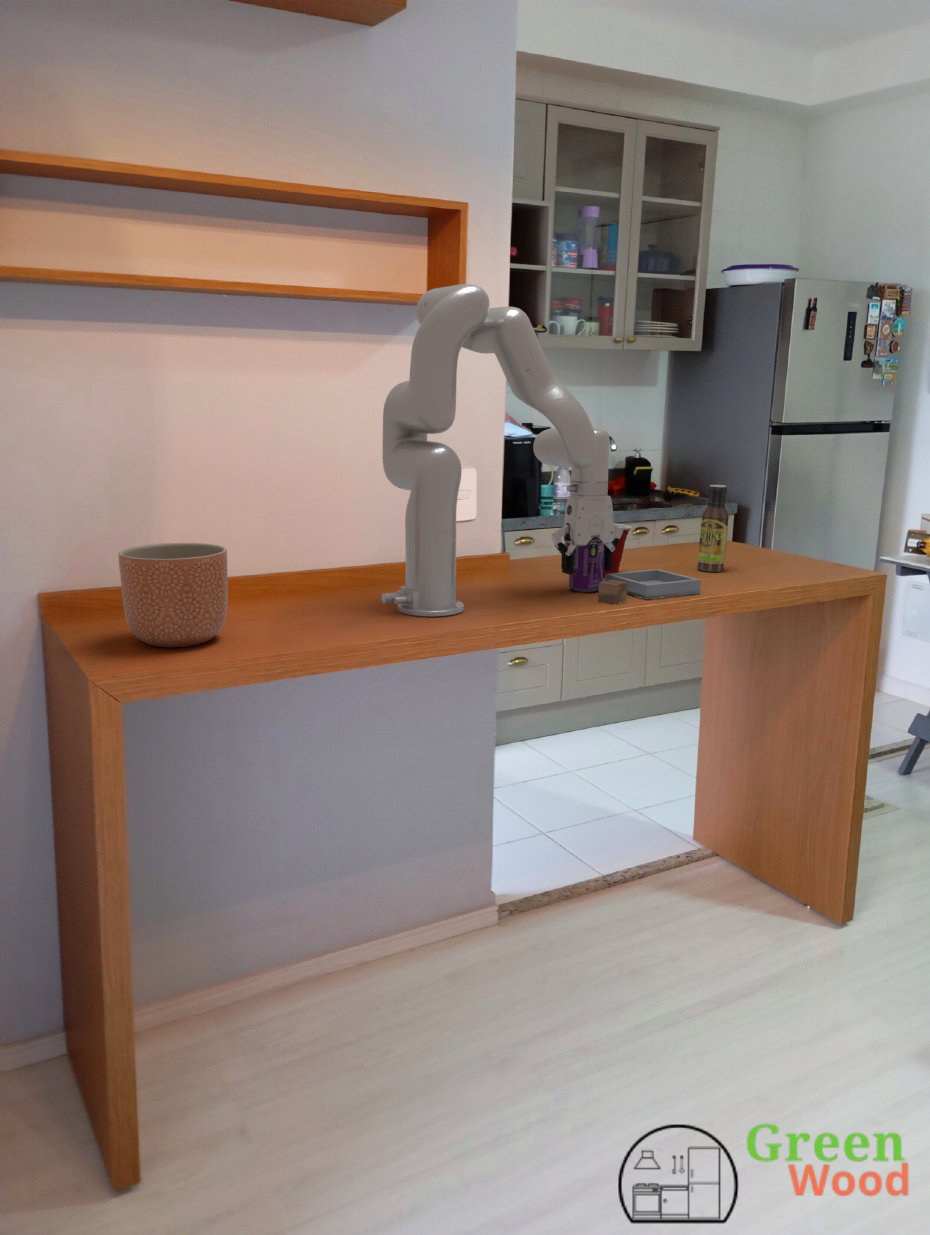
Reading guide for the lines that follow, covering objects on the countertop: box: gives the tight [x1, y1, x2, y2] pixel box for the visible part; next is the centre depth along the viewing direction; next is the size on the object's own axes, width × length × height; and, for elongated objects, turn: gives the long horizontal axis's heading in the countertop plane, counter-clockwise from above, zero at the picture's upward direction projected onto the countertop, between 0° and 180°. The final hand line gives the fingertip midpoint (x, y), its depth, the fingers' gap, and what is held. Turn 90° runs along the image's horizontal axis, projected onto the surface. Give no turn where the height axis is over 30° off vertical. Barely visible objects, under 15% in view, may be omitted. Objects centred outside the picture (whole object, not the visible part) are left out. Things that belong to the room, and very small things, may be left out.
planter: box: [118, 542, 229, 648], centre depth 166 cm, size 17×17×15 cm
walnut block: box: [597, 580, 627, 605], centre depth 200 cm, size 4×4×4 cm
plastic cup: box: [603, 522, 632, 578], centre depth 227 cm, size 11×11×12 cm
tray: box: [604, 568, 702, 600], centre depth 211 cm, size 14×14×3 cm
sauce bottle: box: [697, 484, 730, 573], centre depth 234 cm, size 6×6×20 cm
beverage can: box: [568, 535, 604, 593], centre depth 211 cm, size 7×7×12 cm
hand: (586, 571), depth 211 cm, fingers open, 9 cm apart
